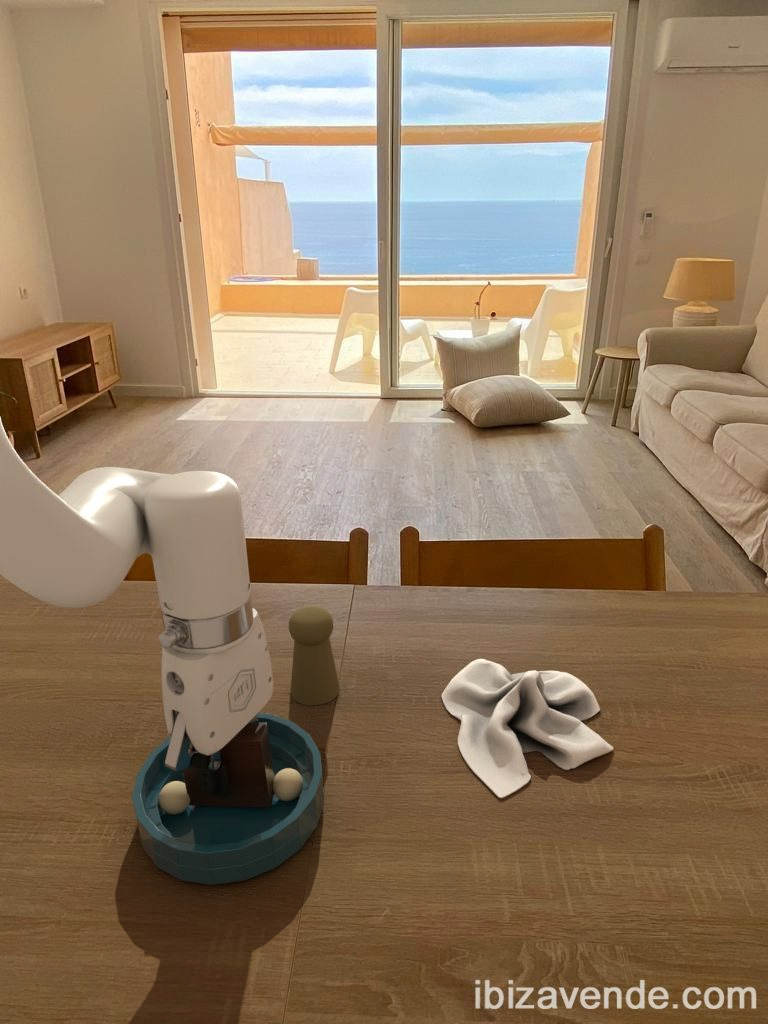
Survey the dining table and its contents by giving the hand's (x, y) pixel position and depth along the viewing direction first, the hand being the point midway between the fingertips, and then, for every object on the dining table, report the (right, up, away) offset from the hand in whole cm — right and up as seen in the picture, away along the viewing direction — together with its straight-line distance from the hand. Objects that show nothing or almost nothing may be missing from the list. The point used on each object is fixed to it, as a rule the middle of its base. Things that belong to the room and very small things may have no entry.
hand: (229, 775), depth 67 cm
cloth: (+31, +1, +12) cm, 33 cm away
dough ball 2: (+5, -1, +1) cm, 6 cm away
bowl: (0, -4, +1) cm, 4 cm away
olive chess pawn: (+6, +4, +18) cm, 20 cm away
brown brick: (0, -2, +1) cm, 3 cm away
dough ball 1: (-5, -2, 0) cm, 6 cm away
